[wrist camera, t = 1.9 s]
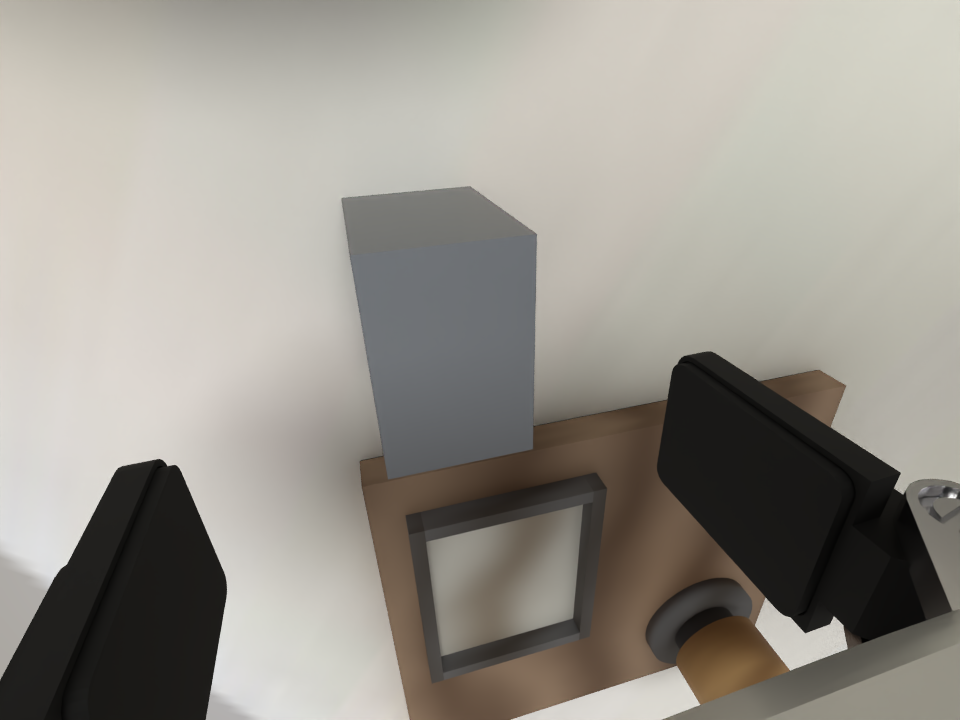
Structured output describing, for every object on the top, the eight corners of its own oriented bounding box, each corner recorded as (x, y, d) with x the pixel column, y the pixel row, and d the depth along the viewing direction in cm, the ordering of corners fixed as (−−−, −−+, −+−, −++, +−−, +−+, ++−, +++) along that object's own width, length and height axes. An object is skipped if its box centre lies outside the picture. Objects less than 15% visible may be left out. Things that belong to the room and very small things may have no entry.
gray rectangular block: (469, 186, 16) (536, 233, 11) (477, 351, 19) (532, 449, 14) (341, 197, 15) (349, 255, 10) (370, 368, 18) (388, 479, 13)
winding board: (819, 370, 24) (1084, 524, 16) (732, 621, 34) (867, 801, 26) (359, 461, 20) (384, 747, 11) (412, 721, 30) (447, 979, 21)
